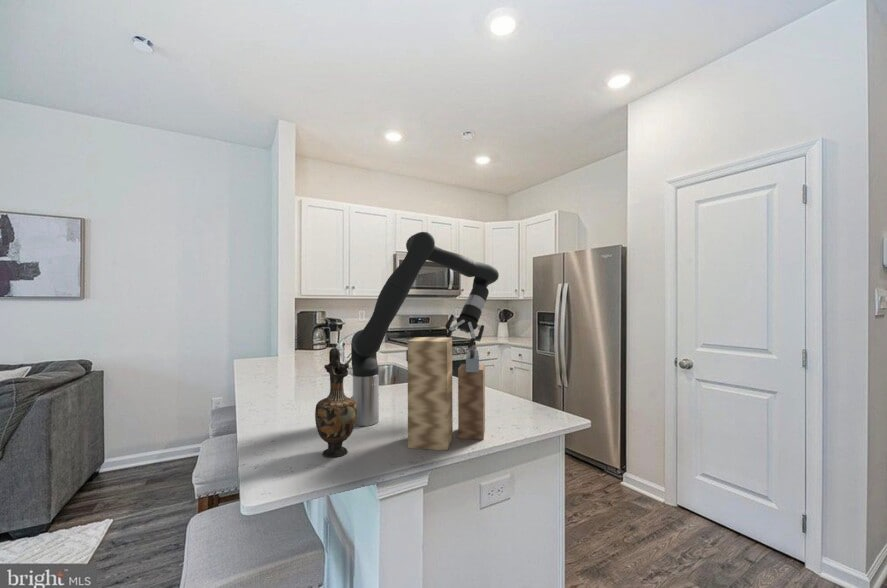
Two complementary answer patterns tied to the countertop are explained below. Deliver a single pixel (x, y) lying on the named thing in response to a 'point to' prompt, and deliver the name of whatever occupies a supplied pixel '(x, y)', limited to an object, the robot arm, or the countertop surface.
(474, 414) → the walnut block
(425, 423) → the oak block
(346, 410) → the vase
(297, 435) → the countertop surface
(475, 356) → the tin
